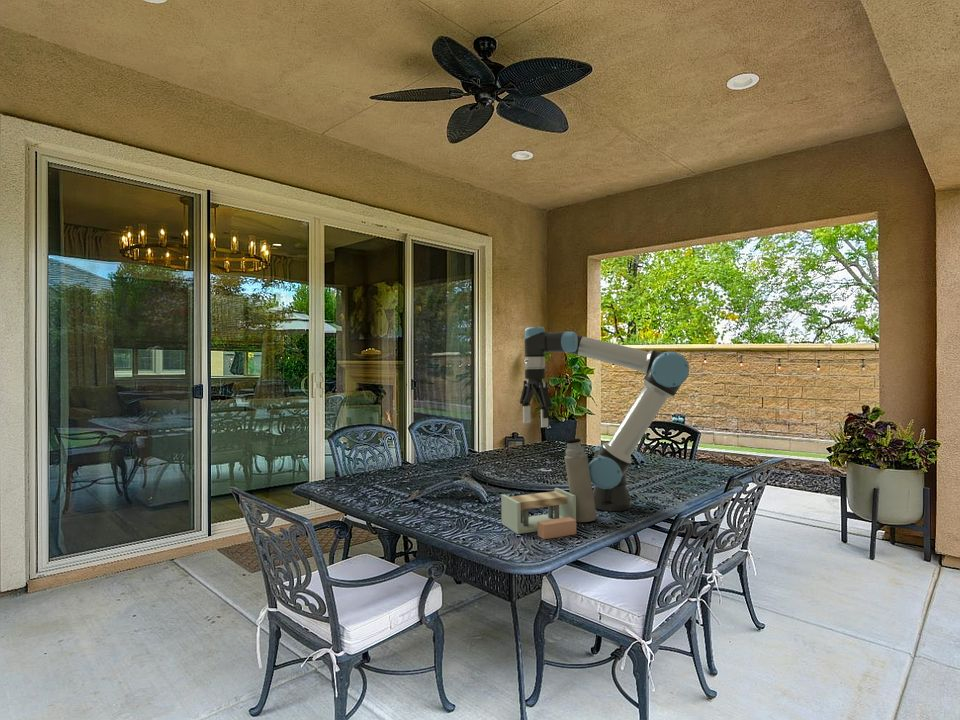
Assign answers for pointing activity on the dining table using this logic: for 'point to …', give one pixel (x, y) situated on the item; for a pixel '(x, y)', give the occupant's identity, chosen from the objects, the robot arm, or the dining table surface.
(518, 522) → the peg frame
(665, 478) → the dining table surface
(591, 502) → the thermos bottle
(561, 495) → the oak shelf board
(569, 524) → the terracotta brick
